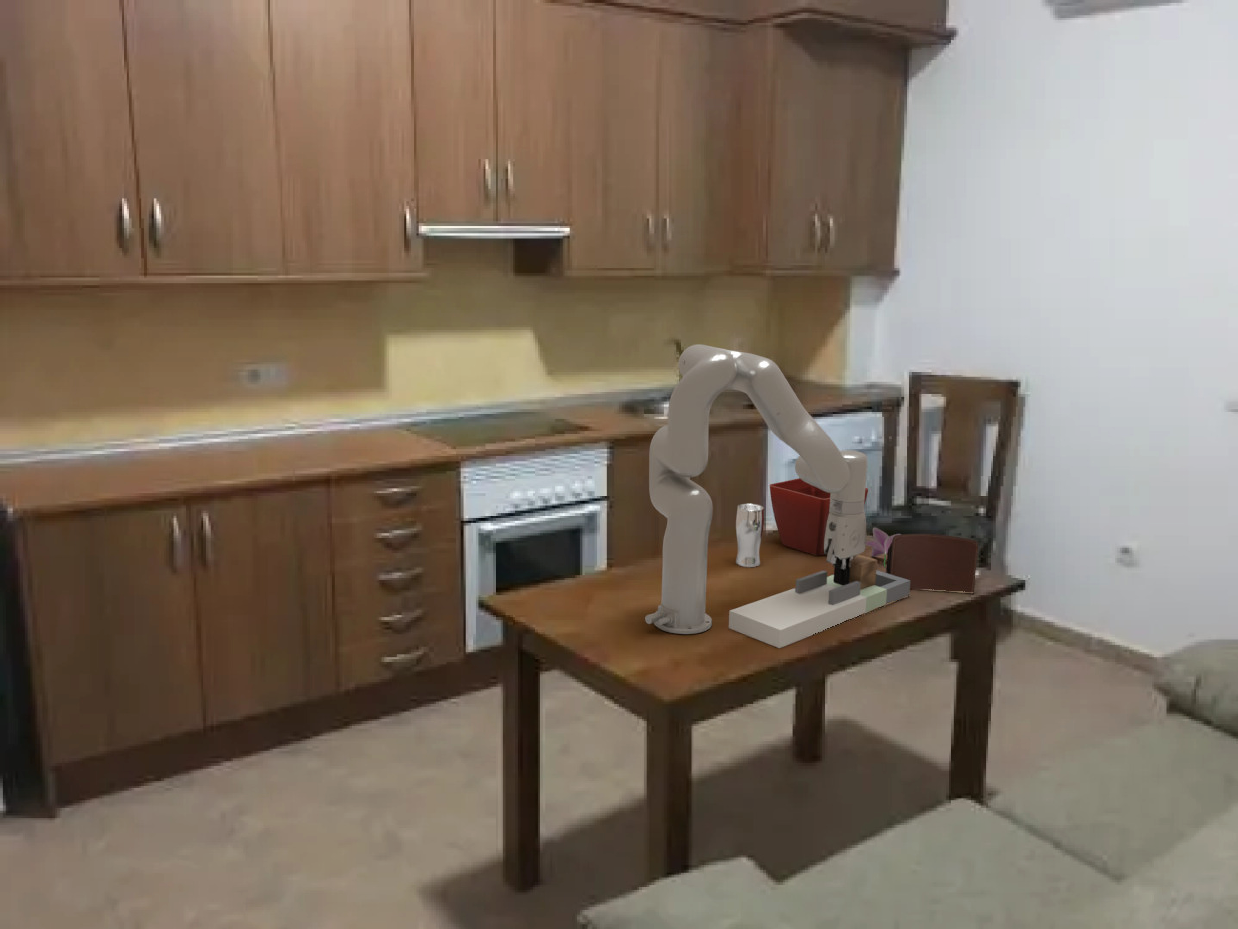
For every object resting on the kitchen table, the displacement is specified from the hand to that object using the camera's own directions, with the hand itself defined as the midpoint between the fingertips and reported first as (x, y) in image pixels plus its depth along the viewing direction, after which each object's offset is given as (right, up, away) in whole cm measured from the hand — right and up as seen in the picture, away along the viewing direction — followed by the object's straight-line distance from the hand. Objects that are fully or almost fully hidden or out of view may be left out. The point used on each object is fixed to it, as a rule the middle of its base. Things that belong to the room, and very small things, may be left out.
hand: (841, 583), depth 239 cm
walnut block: (+4, 0, +4) cm, 6 cm away
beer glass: (-18, +2, +29) cm, 34 cm away
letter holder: (+25, -2, +17) cm, 30 cm away
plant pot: (+2, +5, +44) cm, 44 cm away
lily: (+18, +1, +32) cm, 37 cm away
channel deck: (-5, -6, -3) cm, 8 cm away
